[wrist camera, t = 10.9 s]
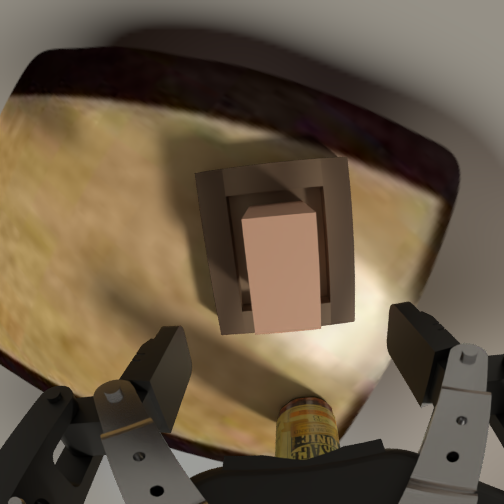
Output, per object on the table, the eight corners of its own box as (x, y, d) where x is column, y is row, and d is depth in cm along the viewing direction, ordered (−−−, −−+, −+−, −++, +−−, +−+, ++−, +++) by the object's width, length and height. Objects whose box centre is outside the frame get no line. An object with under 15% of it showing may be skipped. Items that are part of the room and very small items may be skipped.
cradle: (225, 321, 27) (221, 334, 24) (202, 173, 23) (194, 173, 21) (347, 308, 26) (354, 321, 23) (339, 158, 22) (347, 156, 20)
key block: (249, 205, 23) (241, 219, 16) (301, 200, 23) (315, 212, 16) (259, 291, 25) (255, 334, 18) (307, 286, 24) (321, 328, 18)
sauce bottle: (342, 399, 29) (381, 564, 9) (315, 434, 30) (332, 583, 11) (287, 386, 28) (295, 572, 9) (264, 423, 30) (256, 584, 11)
